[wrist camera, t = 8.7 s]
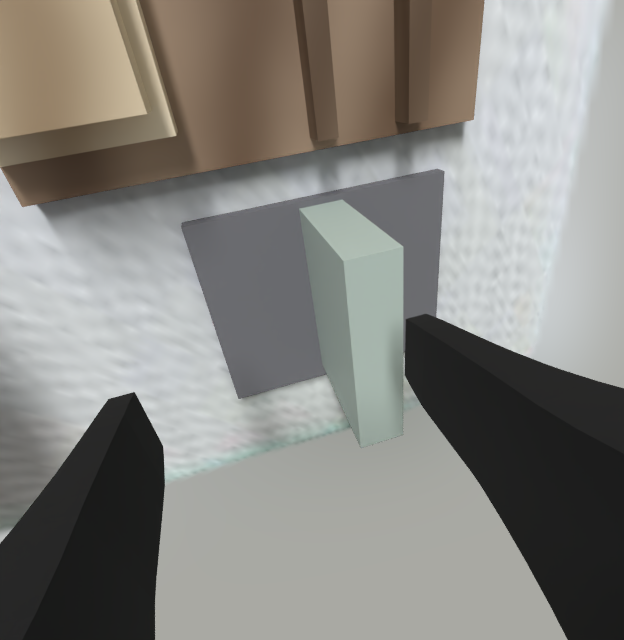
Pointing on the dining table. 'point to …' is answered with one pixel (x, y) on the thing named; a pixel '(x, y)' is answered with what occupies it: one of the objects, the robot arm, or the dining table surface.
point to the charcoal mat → (303, 274)
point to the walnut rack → (281, 85)
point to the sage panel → (358, 315)
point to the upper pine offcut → (65, 66)
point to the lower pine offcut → (110, 131)
